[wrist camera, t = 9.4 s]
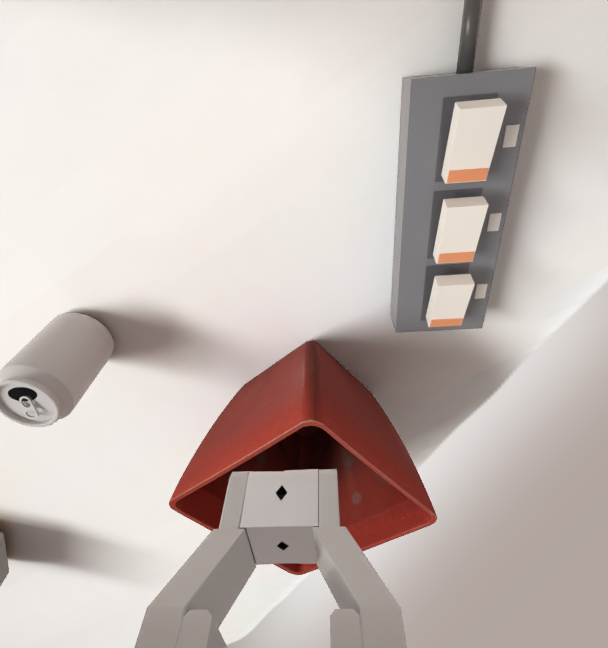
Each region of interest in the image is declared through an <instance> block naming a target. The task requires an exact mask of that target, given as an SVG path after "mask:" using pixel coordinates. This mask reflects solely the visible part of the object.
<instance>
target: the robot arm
mask: <svg viewBox="0 0 608 648" xmlns="http://www.w3.org/2000/svg"><path fill="white" fill-rule="evenodd" d="M282 563H298V564H317V566H318V568H319V570H320V572H321V573H322V575H323V577H324V579H325V581H326V583H327V585H328V587H329V589H330V590H331V593H332V594H333V596H334V598H335V600H336V602H337V604H338V606H339V608H340V609H335V610H334V611H333V613H332V614H331V615H330V634H331V635H330V636H331V648H407V644H406V638H405V631H404V625H403V619H402V612H401V607H400V606H399V604H398V603H397V601H396V600H395V598H394V597H393V595H392V594H391V592H390V591H389V590H388V588H387V587H386V585H385V584H384V583H383V581H382V579H381V578H380V577H379V575H378V573H377V572H376V571H375V569H374V568H373V566H372V565H371V563H370V562H369V561H368V559H367V557H366V556H365V554H364V553H363V552H362V550H361V549H360V547H359V546H358V544H357V543H356V541H355V540H354V538H353V537H352V536H351V534H350V533H349V531H348V530H347V528H346V527H340V517H339V498H338V479H337V469H324V470H318V469H308V470H286V471H256V472H250V471H246V472H232V474H231V476H230V478H229V483H228V487H227V492H226V497H225V502H224V506H223V511H222V516H221V520H220V525H219V529H213V530H212V531H211V533H210V534H209V535H208V536H207V537H206V539H205V540H204V541H203V542H202V543H201V545H200V546H199V547H198V548H197V549H196V550H195V552H194V553H193V554H192V555H191V556H190V558H189V559H188V560H187V561H186V562H185V564H184V565H183V566H182V567H181V568H180V569H179V571H178V572H177V573H176V574H175V575H174V577H173V578H172V579H171V580H170V581H169V583H168V584H167V585H166V586H165V587H164V588H163V590H162V591H161V592H160V593H159V594H158V596H157V597H156V598H155V599H154V600H153V602H152V603H151V604H150V605H149V606H148V607H147V610H146V613H145V616H144V619H143V623H142V626H141V629H140V632H139V635H138V638H137V642H136V645H135V648H227V646H226V644H225V642H224V640H223V638H222V636H221V634H220V631H219V629H218V628H219V626H220V625H221V623H222V621H223V620H224V618H225V616H226V615H227V613H228V612H229V610H230V608H231V607H232V605H233V603H234V602H235V600H236V599H237V597H238V595H239V594H240V592H241V590H242V589H243V587H244V585H245V584H246V582H247V581H248V579H249V577H250V576H251V574H252V572H253V571H254V569H255V568H256V565H258V564H282Z"/></svg>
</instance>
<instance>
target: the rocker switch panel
mask: <svg viewBox="0 0 608 648" xmlns="http://www.w3.org/2000/svg"><path fill="white" fill-rule="evenodd" d="M481 7H482V0H465V1H464V10H463V19H462V28H461V36H460V45H459V54H458V63H457V71H456V73H449V74H438V75H428V76H417V77H406V78H402V96H401V116H400V136H399V156H398V176H397V196H396V216H395V236H394V255H393V275H392V295H391V318H392V322H393V325H394V328H395V332H414V331H434V330H453V329H473V328H482V326H483V322H484V317H485V312H486V307H487V302H488V298H489V293H490V288H491V283H492V278H493V273H494V269H495V264H496V259H497V254H498V249H499V245H500V240H501V235H502V230H503V225H504V221H505V216H506V211H507V206H508V201H509V196H510V192H511V187H512V182H513V177H514V172H515V168H516V163H517V158H518V153H519V148H520V144H521V139H522V134H523V129H524V124H525V119H526V115H527V110H528V105H529V100H530V95H531V91H532V86H533V81H534V76H535V71H536V67H514V68H503V69H492V70H482V71H473V66H474V59H475V51H476V44H477V37H478V29H479V22H480V14H481ZM496 98H501V99H502V100H503V101H504V102H505V103H506V105H507V108H506V112H505V115H504V119H503V122H502V126H501V129H500V133H499V136H498V140H497V143H496V147H495V150H494V154H493V157H492V161H491V164H490V168H489V171H488V175H487V178H486V181H475V182H462V183H449V184H445V182H444V180H443V178H442V176H441V174H442V168H443V163H444V158H445V153H446V147H447V142H448V137H449V132H450V126H451V121H452V116H453V111H454V105H455V102H462V101H473V100H484V99H496ZM478 196H483V197H484V198H485V200H486V201H487V203H488V209H487V212H486V216H485V219H484V223H483V226H482V230H481V234H480V237H479V241H478V244H477V248H476V251H475V255H474V258H473V262H457V263H441V264H436V262H435V259H434V256H433V251H434V246H435V241H436V235H437V230H438V225H439V220H440V214H441V209H442V204H443V199H451V198H465V197H478ZM459 274H471V276H472V279H473V281H474V284H475V285H474V288H473V291H472V294H471V297H470V300H469V303H468V306H467V309H466V312H465V315H464V318H463V321H462V324H461V326H443V327H428V323H427V320H426V313H427V309H428V304H429V300H430V295H431V291H432V286H433V282H434V277H435V276H442V275H459Z"/></svg>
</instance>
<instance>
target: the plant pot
mask: <svg viewBox="0 0 608 648" xmlns="http://www.w3.org/2000/svg"><path fill="white" fill-rule="evenodd" d="M308 469H318V470H324V469H337V479H338V498H339V517H340V527H346V528H347V530H348V531H349V533H350V534H351V536H352V537H353V538H354V540H355V541H356V543H357V544H358V546H359V547H360V549H361V550H362V551H365V550H367V549H370V548H372V547H375V546H377V545H380V544H383V543H385V542H388V541H390V540H393V539H396V538H398V537H401V536H404V535H406V534H409V533H411V532H414V531H417V530H419V529H422V528H424V527H427V526H430V525H431V524H433V523H435V522H436V520H437V516H436V513H435V511H434V508H433V506H432V503H431V501H430V499H429V496H428V494H427V492H426V489H425V488H424V485H423V483H422V480H421V478H420V476H419V474H418V472H417V470H416V467H415V465H414V463H413V461H412V459H411V457H410V455H409V453H408V451H407V450H406V448H405V446H404V444H403V442H402V441H401V439H400V437H399V435H398V433H397V432H396V430H395V428H394V427H393V425H392V423H391V422H390V420H389V419H388V417H387V415H386V414H385V412H384V411H383V409H382V408H381V406H380V405H379V403H378V402H377V401H376V399H375V398H374V396H373V395H372V394H371V393H370V392H369V391H368V390H367V389H366V388H365V387H364V386H363V385H362V384H361V383H360V382H359V381H358V380H356V379H355V378H354V377H353V376H352V375H351V374H350V373H349V372H348V371H347V370H346V369H345V368H344V367H343V366H342V365H340V364H339V363H338V362H337V361H336V360H335V359H334V358H333V357H332V356H331V355H330V354H329V353H328V352H326V351H325V350H324V349H323V348H322V347H321V346H320V345H319V344H318V343H316V342H314V341H309V342H306V343H304V344H303V345H301V346H300V347H298V348H297V349H296V350H294V351H292V352H291V353H290V354H288V355H287V356H285V357H284V358H282V359H281V360H279V361H278V362H277V363H275V364H274V365H272V366H271V367H269V368H268V369H267V370H265V371H264V372H262V373H261V374H259V375H258V376H256V377H255V378H254V379H252V380H251V381H249V382H248V383H246V384H245V385H244V386H243V387H242V388H241V389H240V390H239V391H238V392H237V394H236V395H235V396H234V397H233V399H232V400H231V401H230V402H229V404H228V405H227V406H226V408H225V409H224V410H223V412H222V413H221V414H220V416H219V417H218V419H217V420H216V422H215V423H214V424H213V426H212V427H211V429H210V430H209V432H208V433H207V435H206V436H205V438H204V440H203V441H202V443H201V444H200V446H199V448H198V449H197V451H196V453H195V454H194V456H193V458H192V459H191V461H190V463H189V465H188V466H187V468H186V470H185V472H184V473H183V475H182V477H181V479H180V481H179V483H178V485H177V487H176V489H175V491H174V493H173V495H172V497H171V499H170V502H169V505H170V507H171V508H172V509H173V510H175V511H177V512H178V513H180V514H182V515H183V516H185V517H187V518H189V519H191V520H193V521H195V522H196V523H198V524H200V525H202V526H204V527H205V528H207V529H209V530H211V531H212V530H213V529H219V525H220V520H221V516H222V511H223V506H224V502H225V497H226V492H227V487H228V483H229V478H230V476H231V474H232V472H246V471H250V472H256V471H286V470H308ZM274 565H276V566H278V567H280V568H281V569H283V570H285V571H287V572H289V573H291V574H295V575H302V574H305V573H308V572H310V571H313V570H316V569H318V566H317V564H298V563H282V564H274Z"/></svg>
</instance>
